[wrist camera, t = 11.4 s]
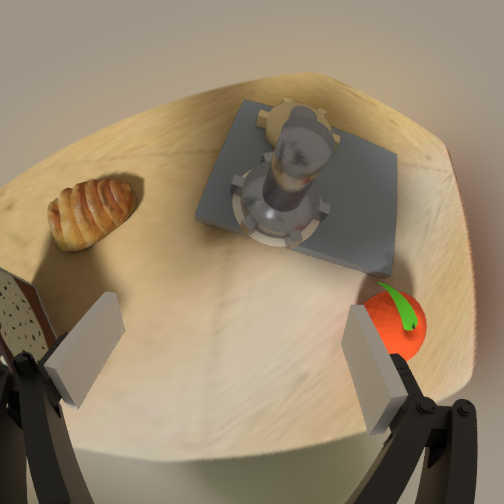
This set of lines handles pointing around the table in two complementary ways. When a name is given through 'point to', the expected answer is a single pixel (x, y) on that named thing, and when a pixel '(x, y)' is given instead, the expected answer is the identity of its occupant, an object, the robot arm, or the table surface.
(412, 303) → the clementine
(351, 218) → the gear board
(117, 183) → the pastry
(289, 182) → the gear
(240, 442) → the table surface
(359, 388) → the robot arm
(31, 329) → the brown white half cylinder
